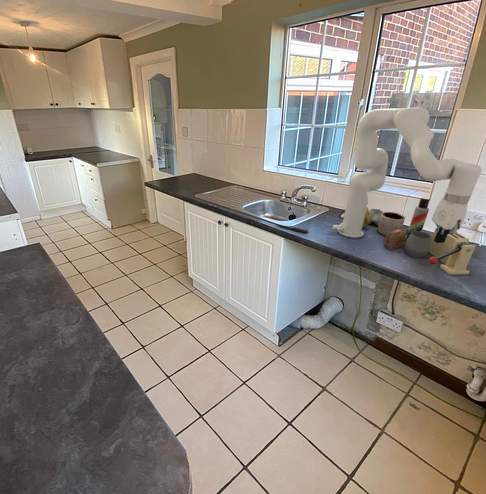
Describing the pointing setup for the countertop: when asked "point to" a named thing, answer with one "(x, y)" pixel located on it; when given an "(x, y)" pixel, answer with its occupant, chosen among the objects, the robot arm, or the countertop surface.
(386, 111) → the robot arm
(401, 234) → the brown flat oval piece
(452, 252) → the red knob lever
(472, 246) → the lever bracket
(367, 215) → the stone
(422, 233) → the cup
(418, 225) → the spray bottle
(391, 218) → the planter
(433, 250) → the toaster
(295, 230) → the knife
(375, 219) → the fossil
